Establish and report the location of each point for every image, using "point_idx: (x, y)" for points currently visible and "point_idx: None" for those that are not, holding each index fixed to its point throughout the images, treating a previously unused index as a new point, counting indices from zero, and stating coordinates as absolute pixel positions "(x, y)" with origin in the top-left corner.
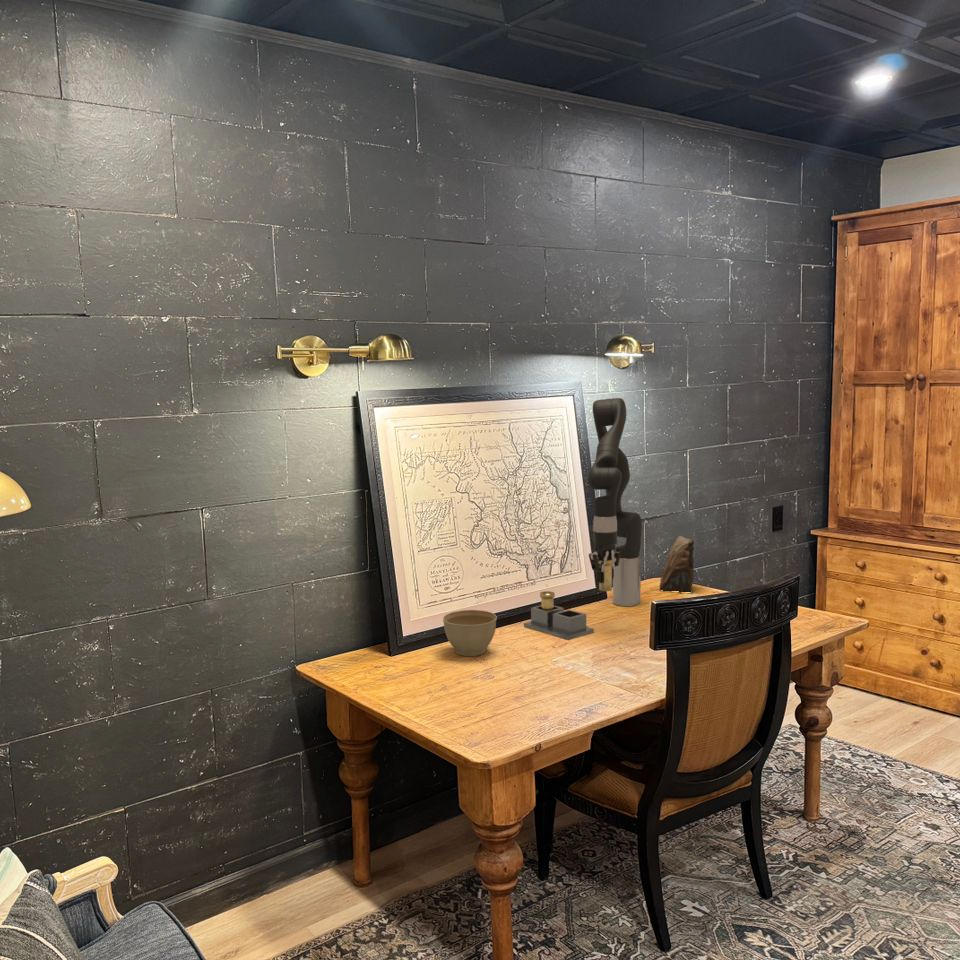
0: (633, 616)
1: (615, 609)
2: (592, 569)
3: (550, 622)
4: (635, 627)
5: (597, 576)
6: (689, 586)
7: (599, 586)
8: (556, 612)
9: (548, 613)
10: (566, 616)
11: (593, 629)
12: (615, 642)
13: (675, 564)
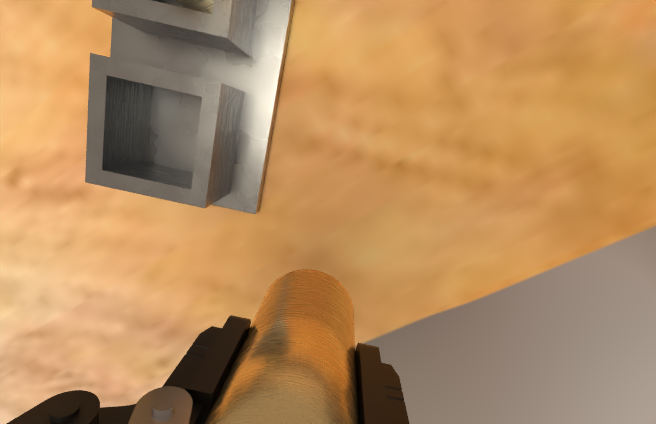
0: (550, 236)
1: (631, 117)
2: (58, 397)
3: (151, 31)
4: (405, 306)
5: (184, 360)
6: None
7: (270, 293)
8: (173, 28)
9: (105, 12)
10: (101, 146)
11: (254, 213)
12: (204, 326)
13: None
